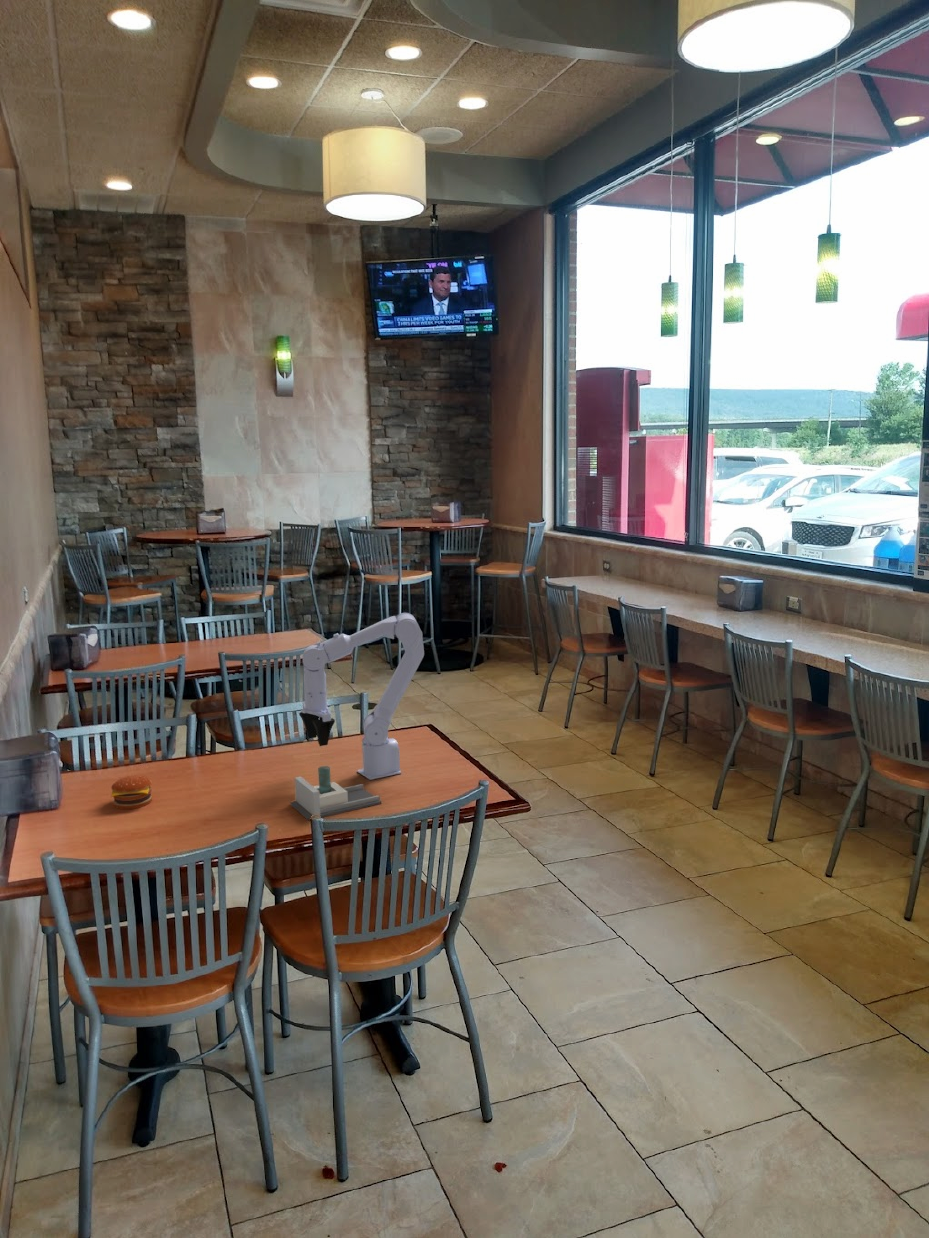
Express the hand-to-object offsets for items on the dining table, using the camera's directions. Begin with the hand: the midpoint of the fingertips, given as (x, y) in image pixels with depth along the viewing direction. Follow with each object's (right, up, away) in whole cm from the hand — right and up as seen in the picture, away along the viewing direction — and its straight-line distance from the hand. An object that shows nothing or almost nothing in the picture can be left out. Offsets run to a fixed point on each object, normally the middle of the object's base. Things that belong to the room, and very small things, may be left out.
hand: (317, 741), depth 242 cm
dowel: (+5, -12, -19) cm, 23 cm away
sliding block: (+5, -13, -18) cm, 23 cm away
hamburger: (-44, -14, -14) cm, 48 cm away
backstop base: (+7, -13, -17) cm, 23 cm away
